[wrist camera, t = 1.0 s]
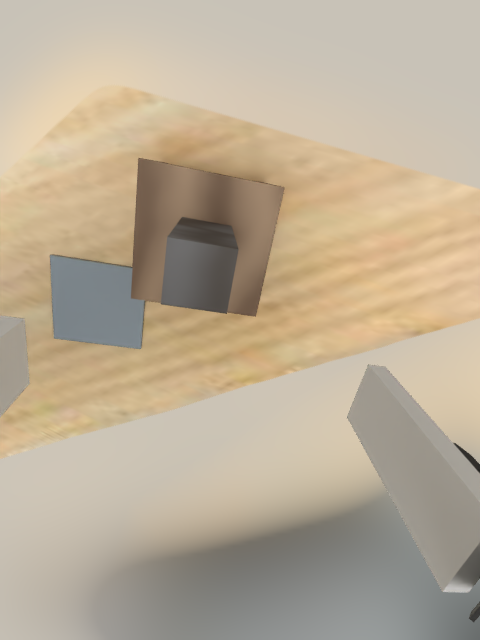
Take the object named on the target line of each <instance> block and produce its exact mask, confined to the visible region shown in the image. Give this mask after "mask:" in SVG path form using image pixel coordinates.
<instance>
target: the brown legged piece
mask: <svg viewBox="0 0 480 640" xmlns="http://www.w3.org/2000/svg"><path fill="white" fill-rule="evenodd" d="M283 192H284V187H280V186H276V185H271V184H267V183H262V182H255V181H250V180H245V179H240V178H235V177H231V176H226V175H221V174H216V173H211V172H206V171H201V170H196V169H191V168H186V167H181V166H176V165H172V164H168V163H164V162H158V161H153V160H148V159H142V158H139V159H138V177H137V195H136V213H135V231H134V249H133V267H132V285H131V299H138V300H145V301H151V302H158V303H161V304H163V305H170V306H177V307H184V308H191V309H198V310H205V311H212V312H219V313H226V314H227V312H228V313H234V314H241V315H248V316H255V317H256V313H257V309H258V304H259V300H260V295H261V291H262V286H263V282H264V277H265V273H266V268H267V264H268V259H269V255H270V250H271V246H272V242H273V237H274V233H275V228H276V224H277V219H278V215H279V210H280V206H281V201H282V197H283Z"/></svg>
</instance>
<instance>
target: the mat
mask: <svg viewBox="0 0 480 640" xmlns="http://www.w3.org/2000/svg"><path fill="white" fill-rule="evenodd" d="M50 265H51V286H52V307H53V328H54V338H55V339H63V340H71V341H79V342H87V343H95V344H103V345H111V346H119V347H127V348H136V349H141V345H142V332H143V318H144V305H145V300H138V299H131V285H132V267H127V266H121V265H115V264H108V263H102V262H96V261H89V260H83V259H77V258H70V257H64V256H58V255H50Z"/></svg>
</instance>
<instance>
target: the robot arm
mask: <svg viewBox="0 0 480 640" xmlns="http://www.w3.org/2000/svg"><path fill="white" fill-rule="evenodd" d="M29 383H30V382H29V369H28V356H27V343H26V330H25V319H23V318H15V317H7V316H0V417H1V416H2V415H3V413H4V412H5V411H6V410H7V409H8V408H9V406H10V405H11V404H12V403H13V402H14V401H15V400H16V398H17V397H18V396H19V395H20V394H21V393H22V392H23V390H24V389H25V388H26V387H27V386H28V385H29ZM347 418H348V420H349V422H350V424H351V425H352V427H353V429H354V431H355V433H356V435H357V436H358V438H359V440H360V442H361V444H362V445H363V447H364V449H365V451H366V453H367V455H368V456H369V458H370V460H371V462H372V464H373V466H374V467H375V469H376V471H377V473H378V475H379V477H380V478H381V480H382V482H383V484H384V486H385V488H386V489H387V491H388V493H389V495H390V497H391V498H392V500H393V502H394V504H395V506H396V508H397V509H398V511H399V513H400V515H401V517H402V519H403V520H404V522H405V524H406V526H407V528H408V530H409V531H410V533H411V535H412V537H413V539H414V540H415V542H416V544H417V546H418V548H419V550H420V551H421V553H422V555H423V557H424V559H425V560H426V562H427V564H428V566H429V568H430V570H431V572H432V573H433V575H434V577H435V579H436V581H437V582H438V584H439V586H440V588H441V590H442V591H443V592H469V591H470V590H471V588H472V587H473V586H474V585H475V584H476V582H477V581H478V580H479V579H480V464H479V463H478V462H477V461H476V460H475V459H474V458H473V457H472V456H471V455H470V454H469V453H467V452H466V451H465V450H463V449H462V448H461V447H459V446H458V445H457V444H456V443H452V442H451V440H450V439H449V438H448V437H447V436H446V435H445V434H444V432H443V431H442V430H441V429H440V428H439V427H438V426H437V425H436V423H435V422H434V421H433V420H432V419H431V418H430V417H429V416H428V414H426V412H425V411H424V410H423V409H422V408H421V407H420V405H419V404H418V403H417V402H416V401H415V400H414V399H413V398H412V396H411V395H410V394H409V393H408V392H407V391H406V390H405V388H404V387H403V386H402V385H401V384H400V383H399V382H398V381H397V379H396V378H395V377H394V376H393V375H392V374H391V373H390V371H389V370H388V369H387V368H386V367H383V366H376V365H368V366H367V369H366V371H365V374H364V376H363V379H362V381H361V384H360V386H359V389H358V391H357V394H356V396H355V398H354V401H353V403H352V406H351V408H350V411H349V413H348V416H347ZM479 616H480V602H479V604H477V606H476V607H475V608H474V609H473V610H472V612H471V614H470V617H469V619H470V620H472V621H473V622H474V621H475V620H476V619H477V618H478V617H479Z"/></svg>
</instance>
